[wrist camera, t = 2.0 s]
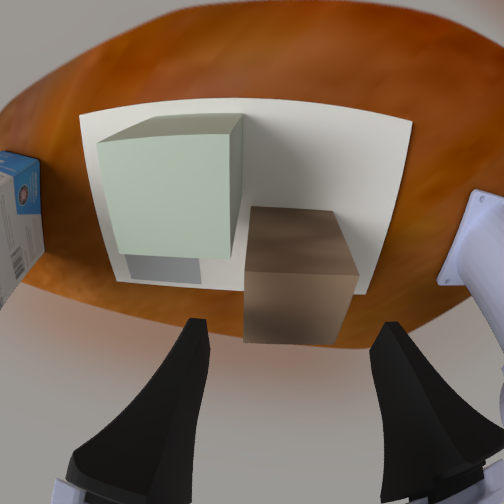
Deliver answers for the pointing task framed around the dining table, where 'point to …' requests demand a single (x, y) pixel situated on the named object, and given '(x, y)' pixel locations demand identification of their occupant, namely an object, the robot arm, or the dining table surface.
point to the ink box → (18, 220)
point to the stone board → (274, 179)
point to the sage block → (175, 185)
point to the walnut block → (296, 277)
